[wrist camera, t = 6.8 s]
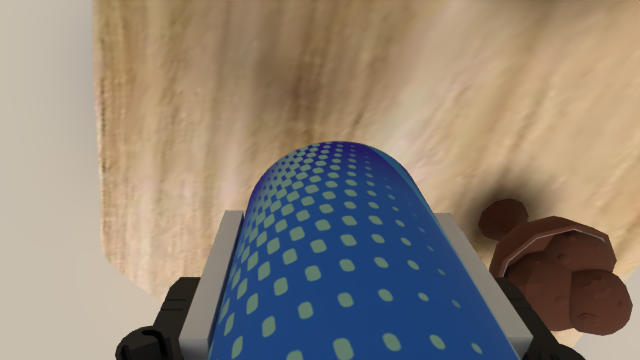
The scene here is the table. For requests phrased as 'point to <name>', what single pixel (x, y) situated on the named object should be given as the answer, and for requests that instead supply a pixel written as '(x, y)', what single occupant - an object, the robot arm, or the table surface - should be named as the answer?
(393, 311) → the beer can
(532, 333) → the robot arm
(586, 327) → the ice cream bowl
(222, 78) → the table surface
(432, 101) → the table surface
